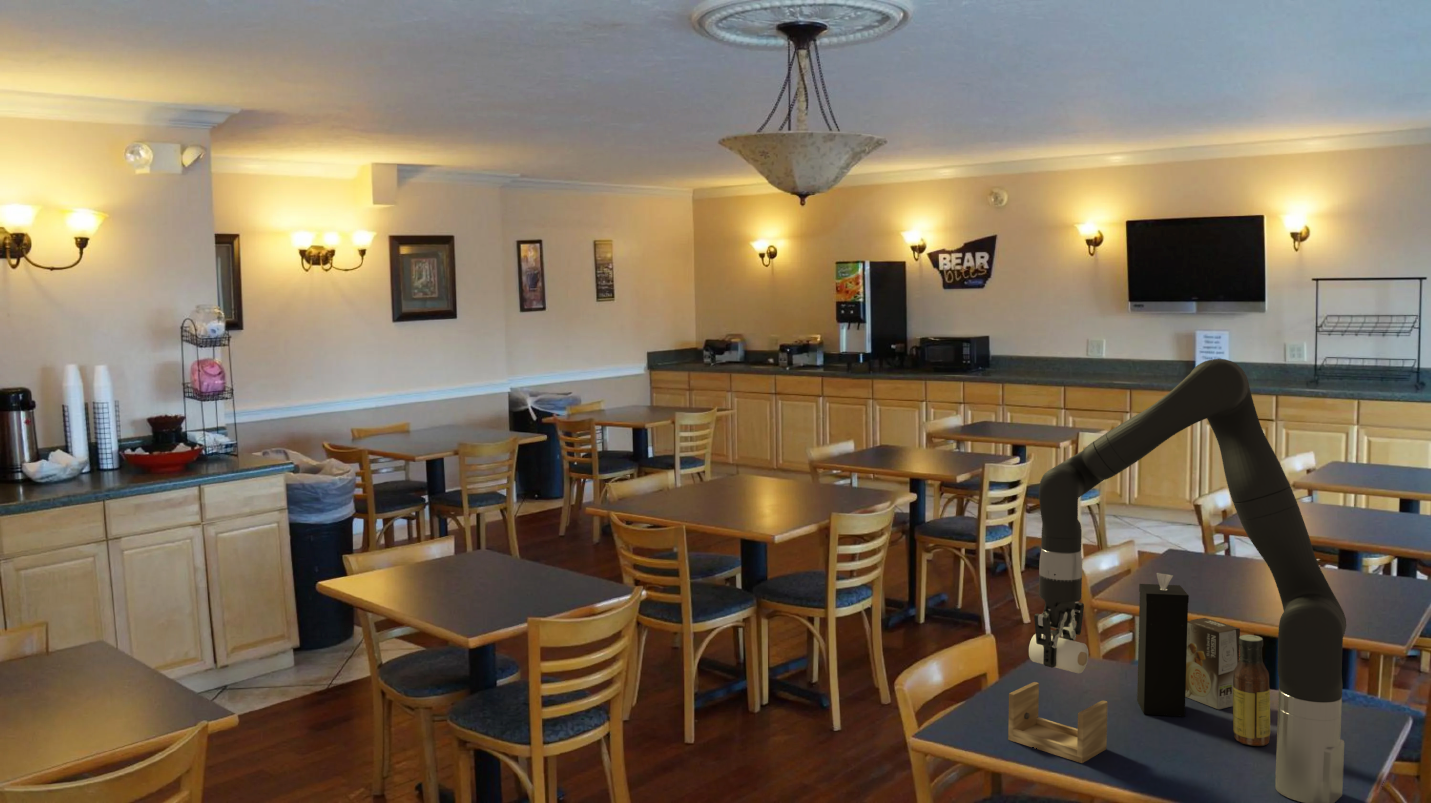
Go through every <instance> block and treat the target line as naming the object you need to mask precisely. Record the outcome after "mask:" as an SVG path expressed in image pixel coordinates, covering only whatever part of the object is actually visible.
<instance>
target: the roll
mask: <svg viewBox="0 0 1431 803" xmlns="http://www.w3.org/2000/svg"><path fill="white" fill-rule="evenodd" d="M1042 638H1043V634H1042ZM1052 638H1053V635H1051V640H1052ZM1056 648H1057V653H1056V666H1055V667H1054V668H1057V669H1060V670H1064V671H1067V672H1072V673H1076V674H1081V673H1083V672H1084V670H1085V669H1086V667H1087V664H1088V661H1089V648H1088V646H1087V644H1086V643H1083V642H1079V641H1076V640H1073V641H1072V640H1067V639H1063V637H1060V636H1059V637H1058V641H1057V646H1056ZM1028 656H1029V659H1030V661H1032V662H1033V663H1037V664H1039V665H1040V664H1041V665H1044V664H1043V659H1044V647H1043V645H1039V644H1037V643H1036V633H1035V634H1033V636H1032V637H1031V640H1030V642H1029V646H1028Z"/></svg>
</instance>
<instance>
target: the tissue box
mask: <svg viewBox="0 0 1431 803" xmlns="http://www.w3.org/2000/svg"><path fill="white" fill-rule="evenodd" d="M1173 577H1174V575H1172V574H1168V573H1161V572H1156V578H1157V582H1158V584H1156V583H1155V584H1154V583H1152V584H1151V583H1139V587H1138V592H1139V604H1138V605H1139V607H1138V608H1139V609H1138V610H1139V611H1138V648H1137V649H1138V650H1137V651H1138V655H1137V683H1136V684H1137V689H1136V690H1137V692H1136V693H1137V694H1136V701H1137V703H1138V705H1139V708H1140V709H1141V712H1142V714H1144V715H1151V716H1152V715H1154V716H1155V715H1156V716H1171V717H1186V697H1185V693H1186V659H1187V624H1188V621H1189V620H1188V619H1189V616H1188V615H1189V614H1188V613H1189V599H1190V597H1189V596H1190V595H1189V594H1188V592H1186V591H1185V589H1184V588H1183V587H1182V585H1180V584H1170V582H1171V580H1172V579H1173Z"/></svg>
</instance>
